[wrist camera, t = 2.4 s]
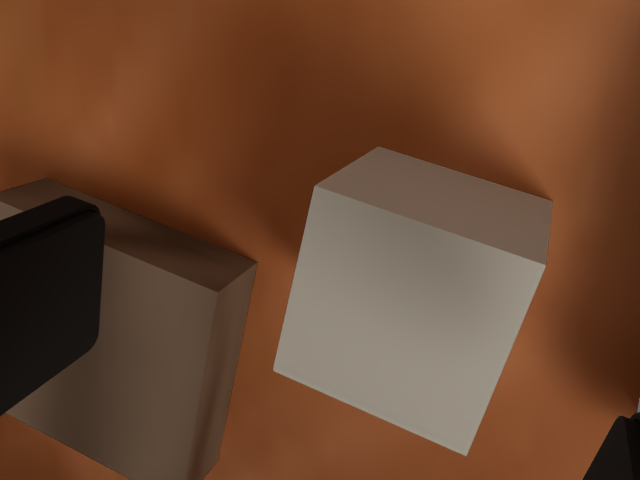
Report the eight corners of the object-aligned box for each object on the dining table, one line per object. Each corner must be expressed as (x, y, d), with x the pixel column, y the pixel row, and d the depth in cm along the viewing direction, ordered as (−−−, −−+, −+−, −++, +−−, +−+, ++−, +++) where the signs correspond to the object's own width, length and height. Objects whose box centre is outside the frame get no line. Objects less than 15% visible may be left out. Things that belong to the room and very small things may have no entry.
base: (263, 257, 20) (217, 292, 18) (223, 453, 24) (180, 506, 22) (53, 175, 23) (-14, 195, 20) (46, 366, 26) (-12, 403, 24)
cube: (553, 200, 16) (546, 265, 12) (491, 352, 18) (466, 456, 14) (379, 145, 17) (314, 185, 13) (340, 293, 19) (272, 370, 15)
